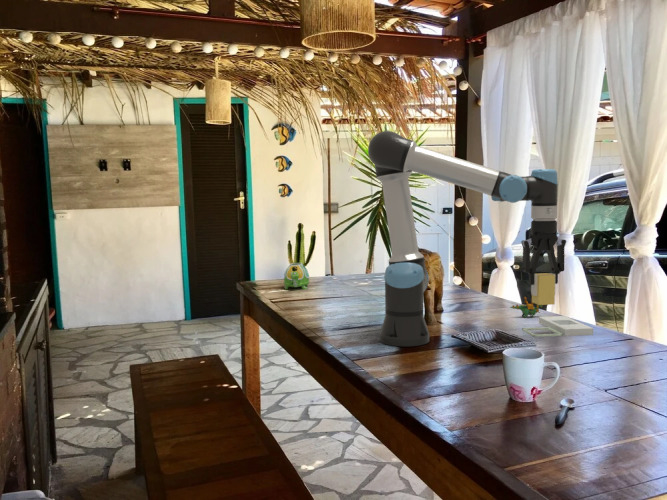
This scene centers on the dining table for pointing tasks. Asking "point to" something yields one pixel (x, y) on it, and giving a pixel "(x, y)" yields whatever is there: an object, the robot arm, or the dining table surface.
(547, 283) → the block
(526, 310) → the figurine
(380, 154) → the robot arm
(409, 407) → the dining table surface
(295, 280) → the turtle holder
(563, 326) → the recessed block
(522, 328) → the tray
